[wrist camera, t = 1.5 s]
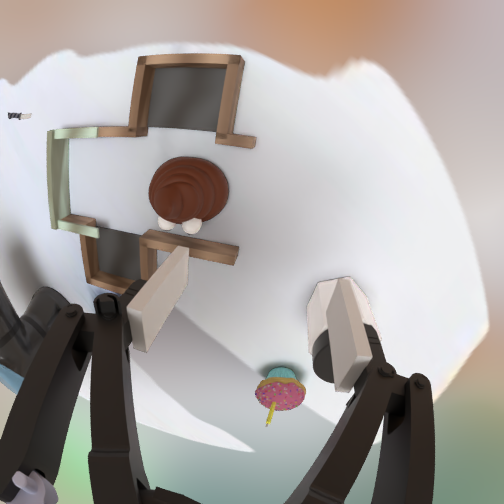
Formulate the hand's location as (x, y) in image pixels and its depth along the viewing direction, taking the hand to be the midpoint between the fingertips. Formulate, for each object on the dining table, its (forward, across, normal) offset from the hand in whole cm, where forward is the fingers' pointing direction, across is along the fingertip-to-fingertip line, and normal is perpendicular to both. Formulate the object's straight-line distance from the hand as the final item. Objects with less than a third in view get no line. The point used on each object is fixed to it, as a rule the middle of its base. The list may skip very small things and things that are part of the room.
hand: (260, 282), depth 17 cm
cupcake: (+18, -8, +30) cm, 36 cm away
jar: (+18, -12, +12) cm, 24 cm away
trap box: (+18, +19, 0) cm, 26 cm away
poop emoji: (+18, +11, 0) cm, 21 cm away
